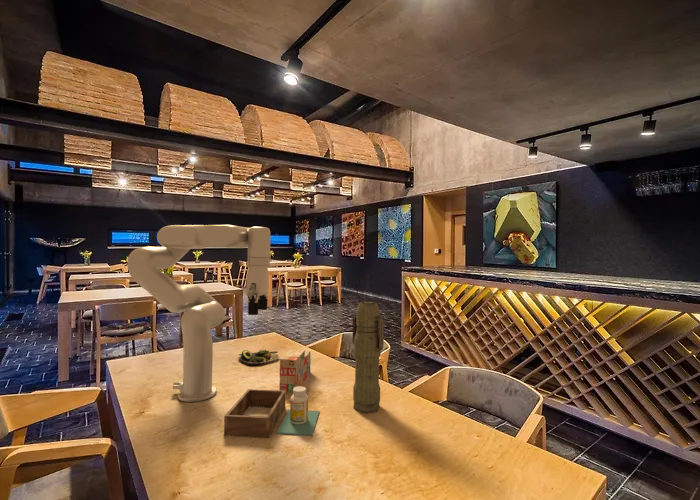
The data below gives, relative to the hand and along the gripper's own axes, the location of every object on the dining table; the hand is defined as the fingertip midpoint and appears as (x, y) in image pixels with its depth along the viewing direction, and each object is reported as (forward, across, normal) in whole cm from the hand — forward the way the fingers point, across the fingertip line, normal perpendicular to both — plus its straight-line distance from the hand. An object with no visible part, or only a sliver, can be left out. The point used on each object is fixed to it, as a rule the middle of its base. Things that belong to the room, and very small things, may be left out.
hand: (257, 312), depth 118 cm
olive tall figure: (+31, +2, +38) cm, 49 cm away
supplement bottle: (+30, +14, +18) cm, 38 cm away
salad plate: (+31, -42, -14) cm, 54 cm away
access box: (+30, +14, +5) cm, 34 cm away
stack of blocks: (+31, -18, +10) cm, 37 cm away
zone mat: (+30, +14, +18) cm, 38 cm away
